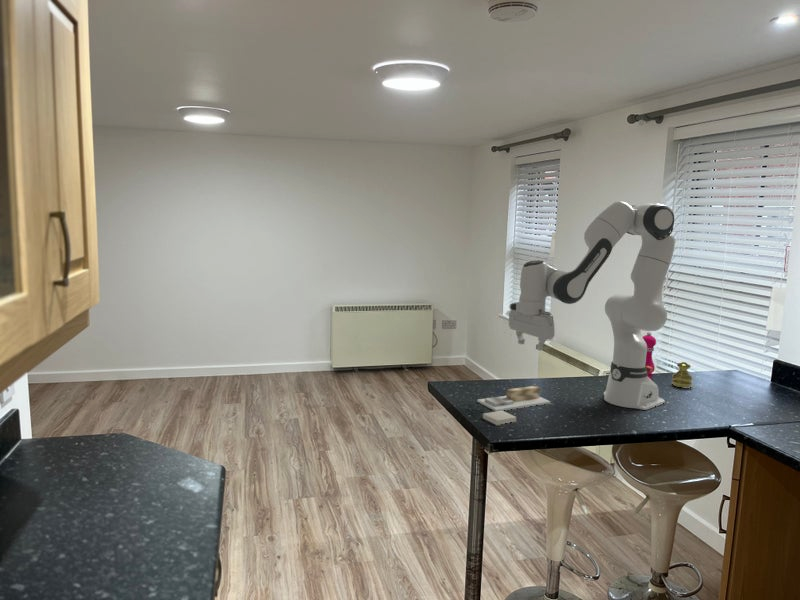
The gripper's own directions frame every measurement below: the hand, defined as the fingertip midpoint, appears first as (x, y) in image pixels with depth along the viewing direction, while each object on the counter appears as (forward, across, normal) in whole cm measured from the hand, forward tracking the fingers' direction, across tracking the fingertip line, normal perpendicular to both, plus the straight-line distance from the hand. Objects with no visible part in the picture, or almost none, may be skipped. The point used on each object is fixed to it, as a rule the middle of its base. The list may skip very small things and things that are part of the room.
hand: (530, 346), depth 205 cm
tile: (+20, -10, +16) cm, 27 cm away
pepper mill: (+23, +9, -71) cm, 75 cm away
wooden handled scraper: (+20, +2, +4) cm, 20 cm away
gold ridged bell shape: (+24, -5, -76) cm, 80 cm away
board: (+20, +2, +4) cm, 21 cm away
